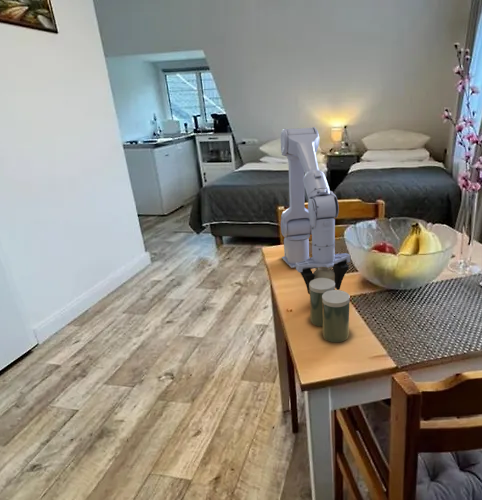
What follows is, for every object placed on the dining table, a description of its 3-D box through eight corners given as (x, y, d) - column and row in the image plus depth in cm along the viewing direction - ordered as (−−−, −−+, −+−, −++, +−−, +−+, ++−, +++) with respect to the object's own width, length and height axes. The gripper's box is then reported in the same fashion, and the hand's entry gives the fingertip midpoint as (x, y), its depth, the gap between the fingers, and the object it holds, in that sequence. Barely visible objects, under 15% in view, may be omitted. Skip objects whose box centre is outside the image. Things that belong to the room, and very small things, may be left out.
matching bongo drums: (306, 316, 96) (305, 280, 92) (328, 311, 98) (328, 275, 94) (329, 345, 85) (329, 305, 81) (354, 338, 87) (354, 299, 83)
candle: (327, 310, 99) (326, 274, 95) (309, 304, 102) (308, 269, 98) (338, 301, 103) (338, 267, 99) (321, 295, 106) (321, 262, 102)
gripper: (302, 253, 90) (304, 304, 95) (356, 243, 95) (355, 291, 100) (291, 243, 96) (294, 291, 101) (343, 234, 101) (342, 281, 106)
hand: (323, 291), depth 101 cm, fingers open, 7 cm apart
